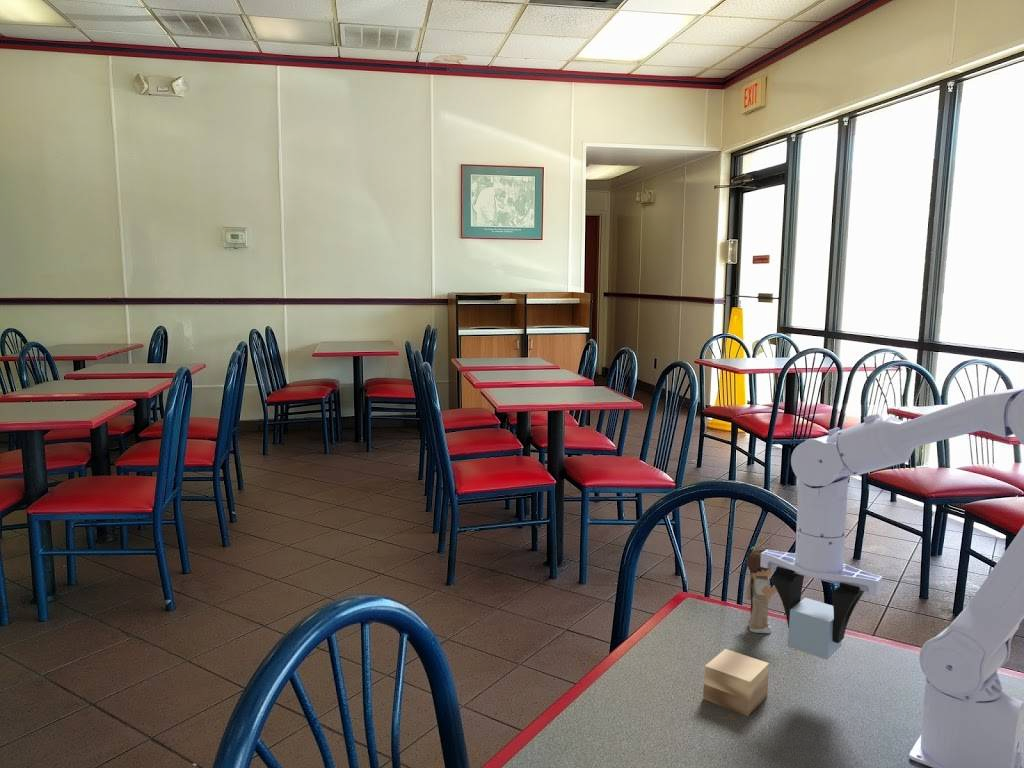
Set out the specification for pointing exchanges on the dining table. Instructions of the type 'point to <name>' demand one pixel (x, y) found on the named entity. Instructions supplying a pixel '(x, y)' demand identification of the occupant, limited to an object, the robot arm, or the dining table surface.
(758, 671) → the upper slab
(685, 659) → the dining table surface
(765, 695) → the lower slab
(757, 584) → the toy
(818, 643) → the cube
